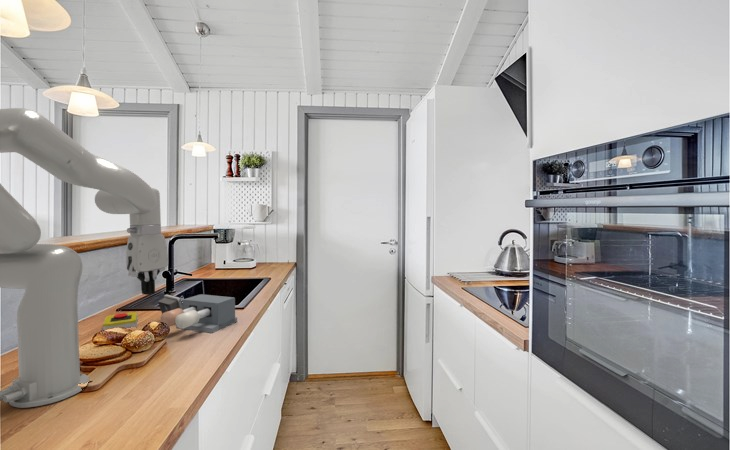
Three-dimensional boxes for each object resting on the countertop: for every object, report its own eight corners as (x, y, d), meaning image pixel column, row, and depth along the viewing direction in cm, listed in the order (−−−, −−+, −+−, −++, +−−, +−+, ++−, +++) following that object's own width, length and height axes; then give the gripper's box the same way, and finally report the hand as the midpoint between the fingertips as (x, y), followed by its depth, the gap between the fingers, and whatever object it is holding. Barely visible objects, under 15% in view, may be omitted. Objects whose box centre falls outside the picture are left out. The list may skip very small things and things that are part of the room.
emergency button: (101, 322, 108) (106, 310, 121) (101, 336, 108) (106, 323, 121) (136, 317, 113) (138, 306, 126) (136, 330, 113) (138, 318, 126)
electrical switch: (188, 321, 121) (185, 296, 120) (173, 327, 117) (170, 300, 116) (173, 317, 126) (170, 292, 125) (159, 322, 122) (155, 297, 121)
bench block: (211, 333, 110) (211, 305, 109) (175, 327, 114) (175, 301, 114) (237, 321, 121) (236, 296, 121) (203, 317, 126) (202, 293, 125)
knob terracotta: (171, 327, 105) (171, 313, 105) (160, 325, 106) (160, 311, 106) (200, 316, 116) (200, 303, 116) (190, 315, 117) (190, 302, 117)
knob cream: (186, 329, 103) (186, 315, 103) (175, 328, 104) (175, 313, 104) (215, 318, 114) (214, 305, 114) (204, 317, 115) (204, 304, 115)
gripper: (130, 233, 91) (133, 301, 92) (177, 229, 105) (179, 288, 106) (110, 232, 93) (113, 299, 94) (159, 229, 107) (161, 287, 108)
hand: (148, 293), depth 100 cm, fingers closed
